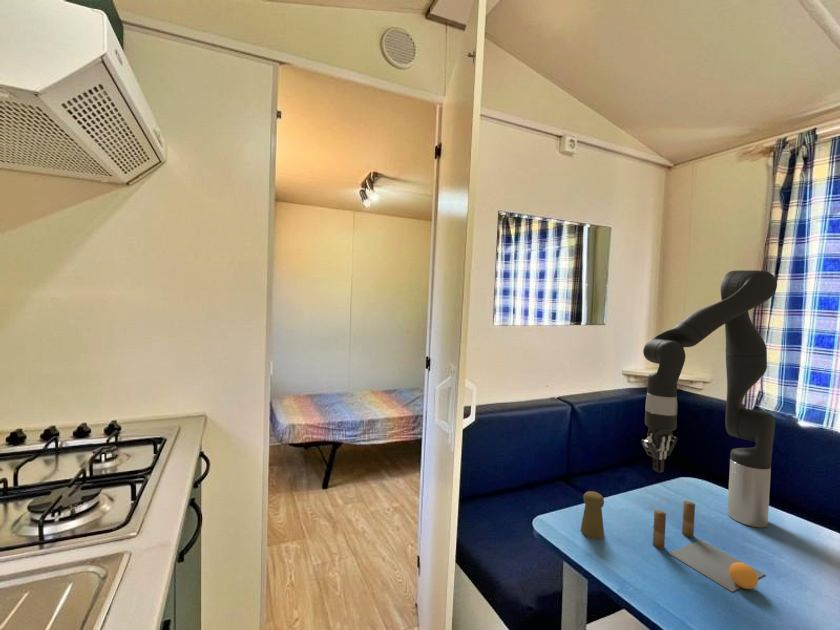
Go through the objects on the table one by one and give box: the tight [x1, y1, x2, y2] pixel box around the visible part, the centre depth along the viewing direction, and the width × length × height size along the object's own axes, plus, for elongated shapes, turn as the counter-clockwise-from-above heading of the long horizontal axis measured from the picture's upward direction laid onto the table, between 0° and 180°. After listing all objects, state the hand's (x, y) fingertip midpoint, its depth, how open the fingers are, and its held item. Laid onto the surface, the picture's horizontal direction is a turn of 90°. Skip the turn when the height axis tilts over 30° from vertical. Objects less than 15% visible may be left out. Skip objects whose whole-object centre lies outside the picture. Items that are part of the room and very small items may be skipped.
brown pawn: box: [580, 490, 605, 540], centre depth 104 cm, size 6×6×11 cm
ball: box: [729, 562, 759, 590], centre depth 86 cm, size 5×5×5 cm
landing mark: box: [668, 539, 766, 593], centre depth 93 cm, size 14×14×1 cm
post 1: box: [652, 509, 667, 550], centre depth 99 cm, size 3×3×9 cm
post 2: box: [681, 500, 696, 539], centre depth 105 cm, size 3×3×9 cm
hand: (658, 471), depth 106 cm, fingers closed
